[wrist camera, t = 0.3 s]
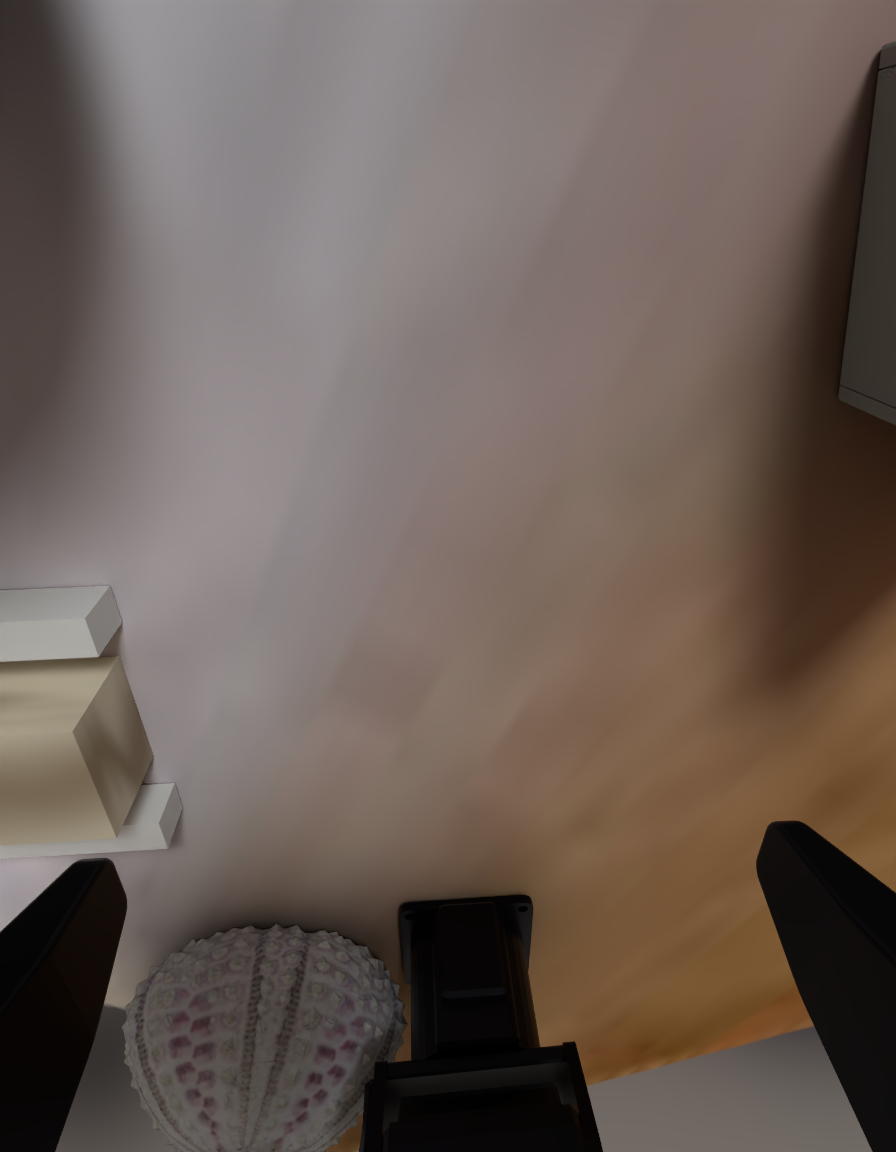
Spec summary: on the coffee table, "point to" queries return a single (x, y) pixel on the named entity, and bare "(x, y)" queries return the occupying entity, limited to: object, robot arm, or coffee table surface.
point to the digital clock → (875, 266)
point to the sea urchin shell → (261, 1039)
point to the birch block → (68, 750)
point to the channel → (80, 631)
